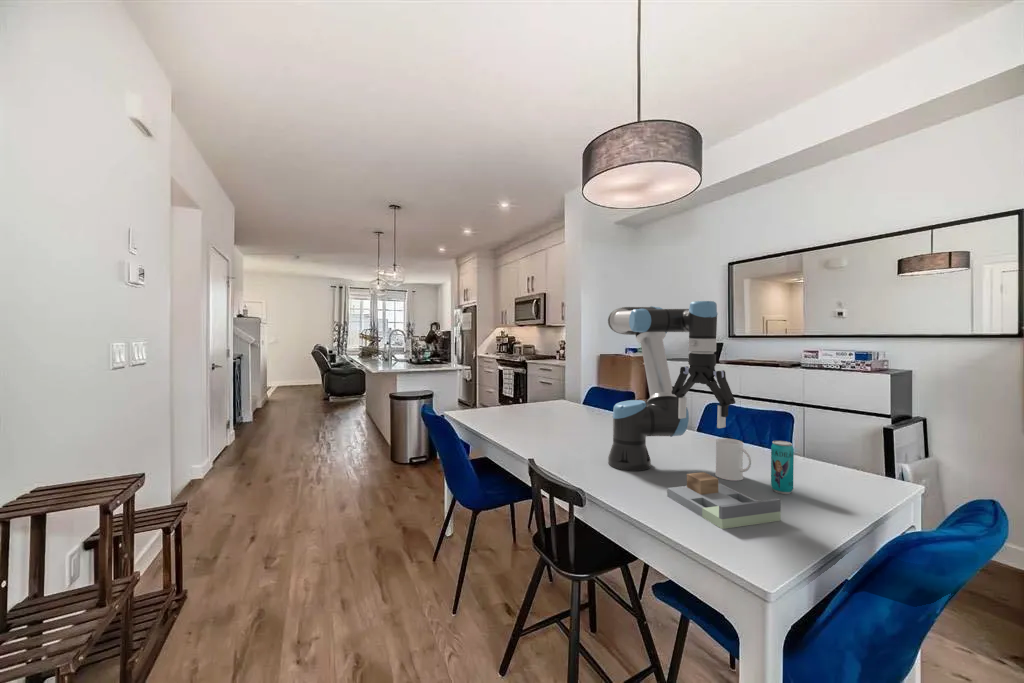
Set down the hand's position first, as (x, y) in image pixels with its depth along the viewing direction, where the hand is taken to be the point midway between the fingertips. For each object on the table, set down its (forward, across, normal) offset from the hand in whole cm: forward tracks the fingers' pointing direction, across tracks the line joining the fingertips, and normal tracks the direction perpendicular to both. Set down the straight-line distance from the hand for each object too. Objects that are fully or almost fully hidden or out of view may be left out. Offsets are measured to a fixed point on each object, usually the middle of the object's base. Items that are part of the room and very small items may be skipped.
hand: (700, 422), depth 127 cm
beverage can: (+22, +12, +22) cm, 33 cm away
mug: (+22, -3, +21) cm, 30 cm away
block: (+19, +4, -3) cm, 19 cm away
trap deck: (+21, +10, -5) cm, 24 cm away
